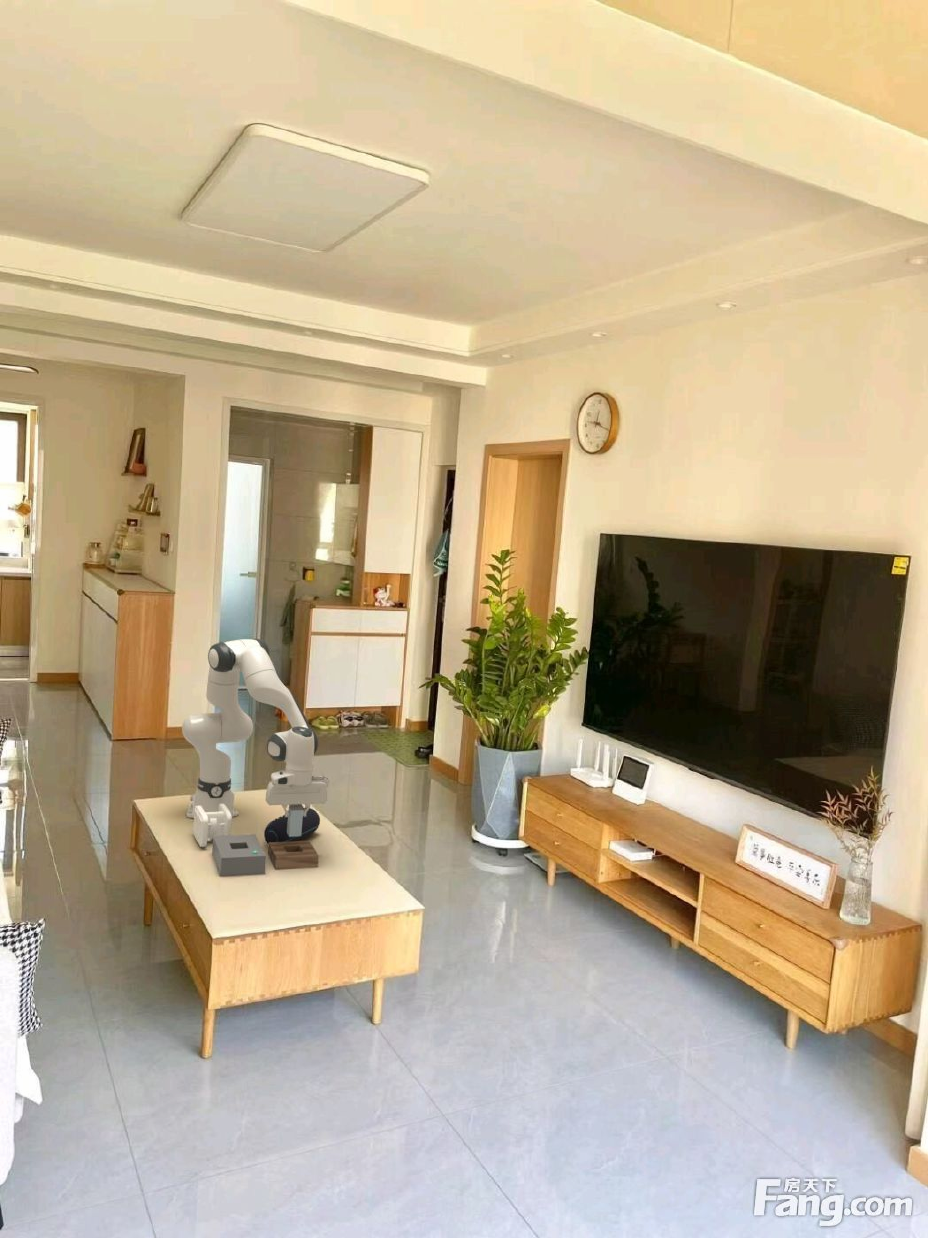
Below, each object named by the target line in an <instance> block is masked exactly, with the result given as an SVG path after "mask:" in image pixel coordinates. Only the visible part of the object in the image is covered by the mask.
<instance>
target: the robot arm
mask: <svg viewBox="0 0 928 1238" xmlns="http://www.w3.org/2000/svg"><path fill="white" fill-rule="evenodd" d="M207 653H208V655H207V660H208V664H209V670H208V677H207V683H206V684H207V685H206V693H205V696H206V699H207V701H208V702H209V703H210V704H211V705H212V706H214V707H216V708H218V709H220V712H209V713H207V712H205V713H204V712H203V713H201V712H199V713H196V714H191V715H188V716H187V717H185V719H184V720H183V723H182V726H181V733H182V736H183V738H184V739H185V740H186V741H187V742H188V743H190V744H191V745H192V747H194V749H195V750H196V752H197V754H198V758H199V777H198V780H197V788H196V790H195V793H194V794H190V797H189V800H190V802H189V805H188V808H187V812H186V817H187V818H190V819H194V808H195V806H201V807H202V808H203V810H204V811H205V812H218V810H219V804H225V806H226V807H227V809H228V810H229V811H230V813H231V816H232V818H233V817H236V816H238V815H239V812H238V810H236V809H235V793H234V792H233V791H232V790H231V788H232V779H231V773H232V772H231V770H232V759H231V757H230V756H229V755H228V754H227V753H226V752H224V751H222V750H219V749H217V744H220V743H221V744H223V743H225V744H226V743H238V742H243V741H247V740H249V739H250V738H251V736H252V734H253V732H254V722H253V720H252V718H251V717H250V716H249V715H248V714H247V713H246V712H244V710H243V709H242V708H241V706H240V703H239V684H240V677H241V676H240V674H242V678H243V681H244V684H245V687H246V689H247V691H248V693H249V695H250V697H251V698H252V699H253V700H255V701H257V702H259V703H263V704H267V705H270V706H273V707H276V708H278V709H279V710H281V711H282V712H283V714H284V715H285V717H286V718H287V721H288V722H289V724H290V726H291V728H290V729H288V730H285V731H281V732H280V731H279V732H274V733H272V734H271V735H270V736H269V738H268V740H267V744H266V750H267V754H268V756H269V757H270V758H271V759H272V760H273V761H276V762H285V763H286V765H285V768H284V769H281V770H278V771H275V772H273V773H271V774H270V778H271V779H270V780H271V781H269V783H268V784H267V788H266V792H265V793H266V794H265V802H266V803H267V805H268V806H281V807H282V808H283V811H284V815H285V817H290V811H288V809H287V808H288V807H289V805H295V804H302V805H304V807H303V808H304V810H303V817H306V812H307V811H308V810H309V808H311V805H317V804H318V805H320V804H321V805H324V804H326V802H327V801H328V787H329V781H330V780H329V779H328V777H326V776H324V775H319V776H318V775H313V770H314V769H313V759H314V757H315V754H316V753H317V751H318V749H319V746H320V740H319V737H318V735H317V732H315V730H314V729H313V728H312V727H311V724H310V723H309V722H308V719H307V717H306V715H305V714H304V711H303V709H302V708H301V706H300V704H299V702H298V700H297V698H296V696H295V695H294V693H293V691H291V689H290V688H288V687H287V686H285V685H284V683H283V682H282V681H281V679H280V678H279V676H278V674H277V671H276V668H275V666H274V664H273V661H272V660H271V657H270V648H269V646H268V643H266V641H265V640H264V639H259V638H252V639H251V638H250V639H249V638H246V639H245V638H244V639H243V638H241V639H240V638H239V639H234V640H228V641H224V642H222V641H220V642H216V643H214V644H213V645H211V647H210V648H209V650H208V652H207ZM240 672H241V673H240Z"/></svg>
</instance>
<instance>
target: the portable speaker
mask: <svg viewBox="0 0 928 1238" xmlns="http://www.w3.org/2000/svg"><path fill="white" fill-rule="evenodd" d="M304 808H305V807H303V810H304ZM287 823H288V817H285V814H284V815H282V816H279V817H278V818H274V819H273V820H271V821H270V822H269V823H267V825H266V826H265V828H264V834H263V835H264V837H263V838H264V840H265V842H266V845H268V843H269V842H290V841H301V840H302V839H304V838H306V837H309V836H311V835H312V834H314V833H315V832H316V831H317V830H318V829H319V826H320V824H321V818H320V815H319V813H318V812H317V811H316V810H315V809H313V808H311V807H310V808H309V810H308V811H307V812H306V817H303V819H302V832H301V836H293V837H289V835H288V834H287Z"/></svg>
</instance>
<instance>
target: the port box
mask: <svg viewBox="0 0 928 1238" xmlns="http://www.w3.org/2000/svg"><path fill="white" fill-rule="evenodd" d="M211 854H212V857H213V860H214V863H215V865H216V868H217V872H218V874H219V876H220V877H230V876H231V877H232V876H249V875H250V876H251V875H265V874H266V863H267V854H266V852H265V851H264V849H263V847H262V845H261V843H260V841H259V839H258V836H257V835H256V834H255V833H254V834H234V835H233V834H232V835H228V836H213V839H212V850H211Z"/></svg>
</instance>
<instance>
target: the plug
mask: <svg viewBox="0 0 928 1238" xmlns="http://www.w3.org/2000/svg"><path fill="white" fill-rule="evenodd" d="M303 808H304V806H303V804H295V805H288V809H287V811H290V817H288V823H287V834H288V835H289V837H293V836H301V832H302V819H303Z"/></svg>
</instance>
